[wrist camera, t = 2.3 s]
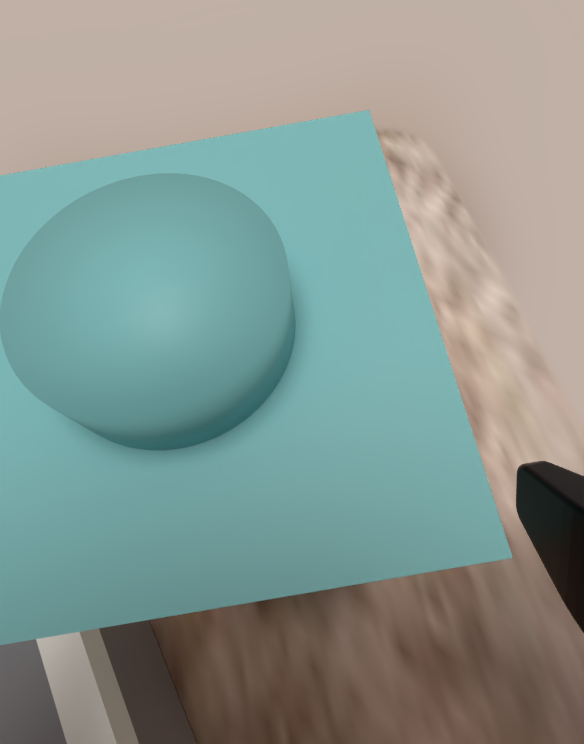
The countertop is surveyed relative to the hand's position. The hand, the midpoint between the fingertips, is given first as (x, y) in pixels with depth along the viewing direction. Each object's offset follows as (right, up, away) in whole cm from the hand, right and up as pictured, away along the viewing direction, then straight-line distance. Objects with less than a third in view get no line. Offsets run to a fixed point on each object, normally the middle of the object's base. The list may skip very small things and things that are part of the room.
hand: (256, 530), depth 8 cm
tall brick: (0, -2, +9) cm, 9 cm away
